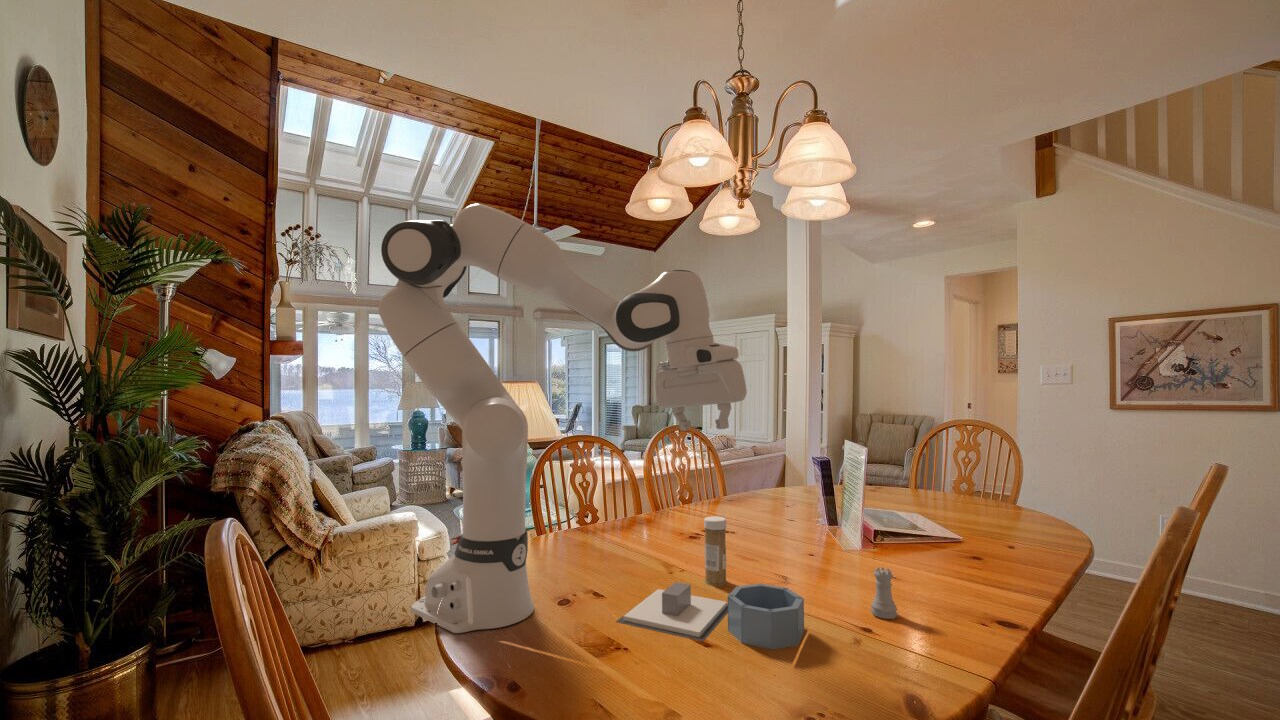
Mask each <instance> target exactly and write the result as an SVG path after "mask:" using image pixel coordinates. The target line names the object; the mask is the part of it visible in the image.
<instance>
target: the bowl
mask: <svg viewBox="0 0 1280 720" xmlns="http://www.w3.org/2000/svg"><path fill="white" fill-rule="evenodd" d="M804 600H805V598H804V597H802V596H801V595H799V594H798V593H796V592H794V591H793V590H791V589H789V588H788V587H784V586H783V587H782V586H779V585H773V584H765V583H754V584H746V585H739V586H737V585H736V586H735V588H733V589H732V591H731V592H730V593H729V594H728V595H727V604H728V613H727V631H728V632H729V633H730V634H731V635H732V636H734V637H735V638H736V639H737V640H738V642H740V643H741V644H744V645H749V646H752V647H753V646H754V647H759V648H762V649H766V650H767V649H768V650H771V651H773V650H777V649H783V648H790V647H796V646H799V645H800V642H801V639H802V638H803V637H804V636H803V635H804V634H805V605H804V604H805V601H804Z"/></svg>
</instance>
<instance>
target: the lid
mask: <svg viewBox="0 0 1280 720" xmlns="http://www.w3.org/2000/svg"><path fill="white" fill-rule="evenodd" d="M645 598H646V599H645ZM645 598H644V599H645V600H644V599H642V600H641V601H640V602H641V603H640V602H639V603H637V604H636V605H637V606H636V607H635V606H634V607H632V608H631V609H632V610H631V609H630V610H628V611H627V612H628V613H627V612H626V613H627V614H626V613H625V614H623V616H624V621H628V622H632V623H637V624H641V625H646V626H650V627H655V628H659V629H664V630H668V631H673V632H677V633H682V634H686V635H691V636H695V637H700V636H701V635H702V634H703V633H704V632H705V631H706V629H707V628H708V627H709V626H710V625H711V624H712V623H713V621H714V620H715V619H716V618H717V617H718V616H719V615H720V613H721V612H722V611H723V610H724V609H725V608H726V607H727V604H728V601H725V600H718V599H715V598H707V597H703V596H697V595H693V594H692V584H689V583H684V582H678V581H675V582H674V583H672V584H671V585H670V586H669V587H668V588H666V589H661V588H660V589H659V588H658V589H656V590H655V591H654V593H653V592H652V593H651V594H650V596H649V595H648V596H647V597H645Z"/></svg>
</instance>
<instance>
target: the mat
mask: <svg viewBox="0 0 1280 720" xmlns="http://www.w3.org/2000/svg"><path fill="white" fill-rule="evenodd" d="M654 592H655V591H654ZM654 592H653V591H652V593H654ZM650 595H651V594H650ZM650 595H648V596H650ZM646 598H647V597H645V598H644V599H643V600H645V599H646ZM641 602H642V601H640V602H639V603H641ZM637 605H638V604H636V606H637ZM636 606H634V607H636ZM632 609H633V608H630V610H632ZM628 612H629V611H627V612H626V613H625V614H627V613H628ZM726 615H728V603H727V607H726V608H725V609H724V610H723V611H722V612H721V613H720V615H719V616H718V617H717V618H716V619H715V620H714V621H713V623H712V624H711V625H710V626H709V627H708V628H707V629H706V631H705V632H704V633H703V634H702V635H701V636H700V637H695V636H691V635H686V634H682V633H677V632H673V631H668V630H664V629H659V628H655V627H650V626H646V625H641V624H637V623H632V622H628V621H624V615H622V616H621V617H620V618H619V619H618V620H616V621H615V623H619V624H624V625H628V626H630V627H631V626H632V627H637V628H641V629H645V630H650V631H654V632H657V633H658V632H659V633H662V634H666V635H667V634H668V635H673V636H677V637H681V638H686V639H689V640H694V641H698V642H704V641H705V640H706V639H707V637H708V636H709V635H710V634H711V633H712V632H713V631H714V630H715V628H716V627H717V626H718V625H719V624H720V622H721V621H722V620H723V618H724V617H726Z"/></svg>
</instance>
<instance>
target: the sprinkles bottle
mask: <svg viewBox="0 0 1280 720" xmlns="http://www.w3.org/2000/svg"><path fill="white" fill-rule="evenodd" d="M703 527H704V567H705V580H704V583H705V584H707V585H709V586H712V587H720V586H721V587H722V586H725V585H727V546H726V530H727V519H726V518H725V517H722V516H712V515H711V516H706V517H704V521H703Z"/></svg>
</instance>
